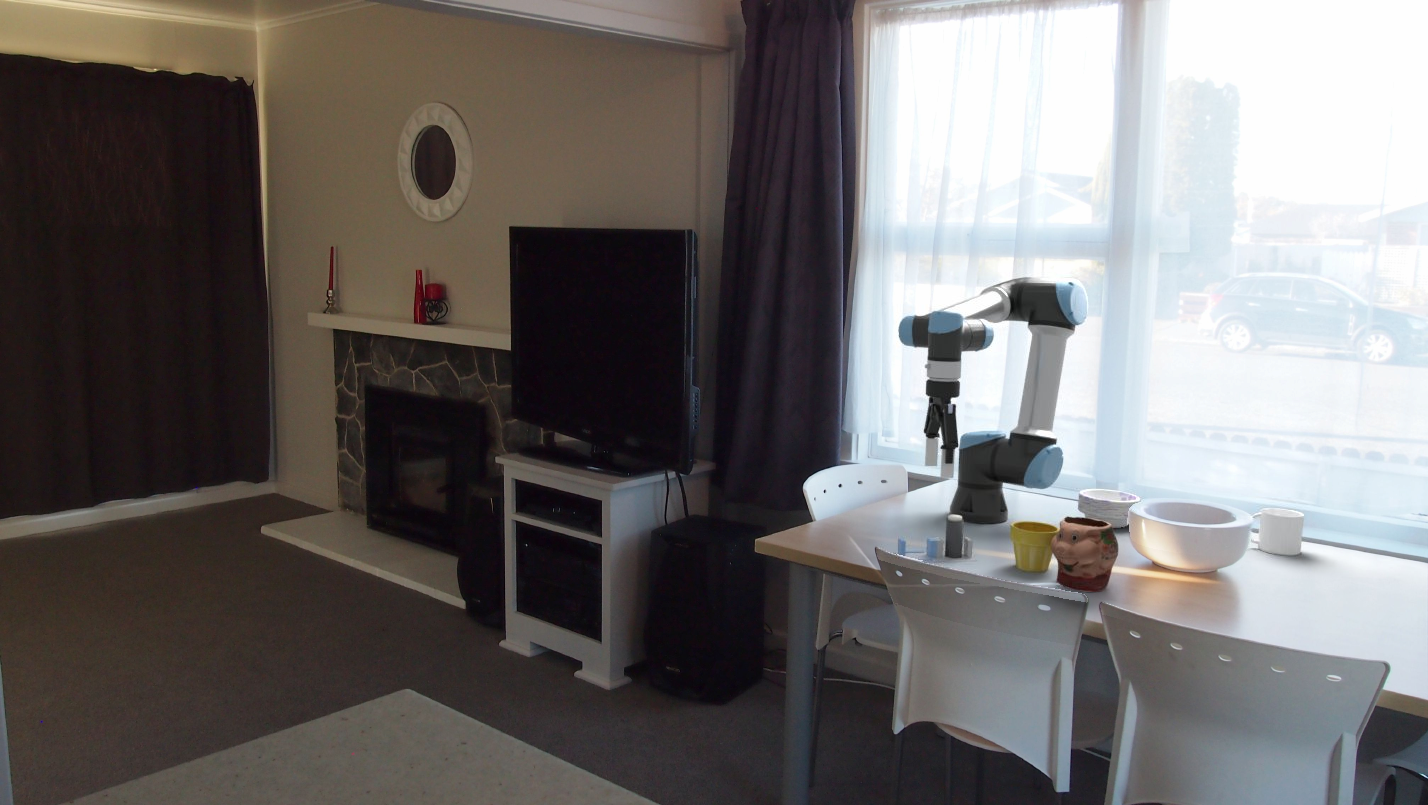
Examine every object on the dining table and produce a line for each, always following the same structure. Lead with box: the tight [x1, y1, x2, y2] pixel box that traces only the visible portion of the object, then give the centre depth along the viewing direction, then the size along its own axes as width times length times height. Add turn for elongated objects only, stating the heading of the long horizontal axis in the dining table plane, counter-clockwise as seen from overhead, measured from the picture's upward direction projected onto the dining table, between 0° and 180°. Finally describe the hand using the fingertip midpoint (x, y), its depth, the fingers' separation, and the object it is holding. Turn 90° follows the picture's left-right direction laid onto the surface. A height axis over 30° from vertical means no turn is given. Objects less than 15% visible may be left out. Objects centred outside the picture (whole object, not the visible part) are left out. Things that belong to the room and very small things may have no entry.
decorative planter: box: [1051, 516, 1119, 593], centre depth 215 cm, size 20×12×14 cm, turn 135°
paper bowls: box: [1077, 488, 1142, 529], centre depth 267 cm, size 15×15×8 cm
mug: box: [1250, 507, 1305, 557], centre depth 244 cm, size 12×9×9 cm
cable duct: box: [893, 536, 977, 563], centre depth 233 cm, size 17×8×4 cm, turn 95°
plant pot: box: [1009, 520, 1060, 573], centre depth 225 cm, size 10×10×10 cm
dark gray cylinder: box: [944, 514, 965, 558], centre depth 233 cm, size 4×4×9 cm
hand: (938, 471), depth 233 cm, fingers open, 13 cm apart
